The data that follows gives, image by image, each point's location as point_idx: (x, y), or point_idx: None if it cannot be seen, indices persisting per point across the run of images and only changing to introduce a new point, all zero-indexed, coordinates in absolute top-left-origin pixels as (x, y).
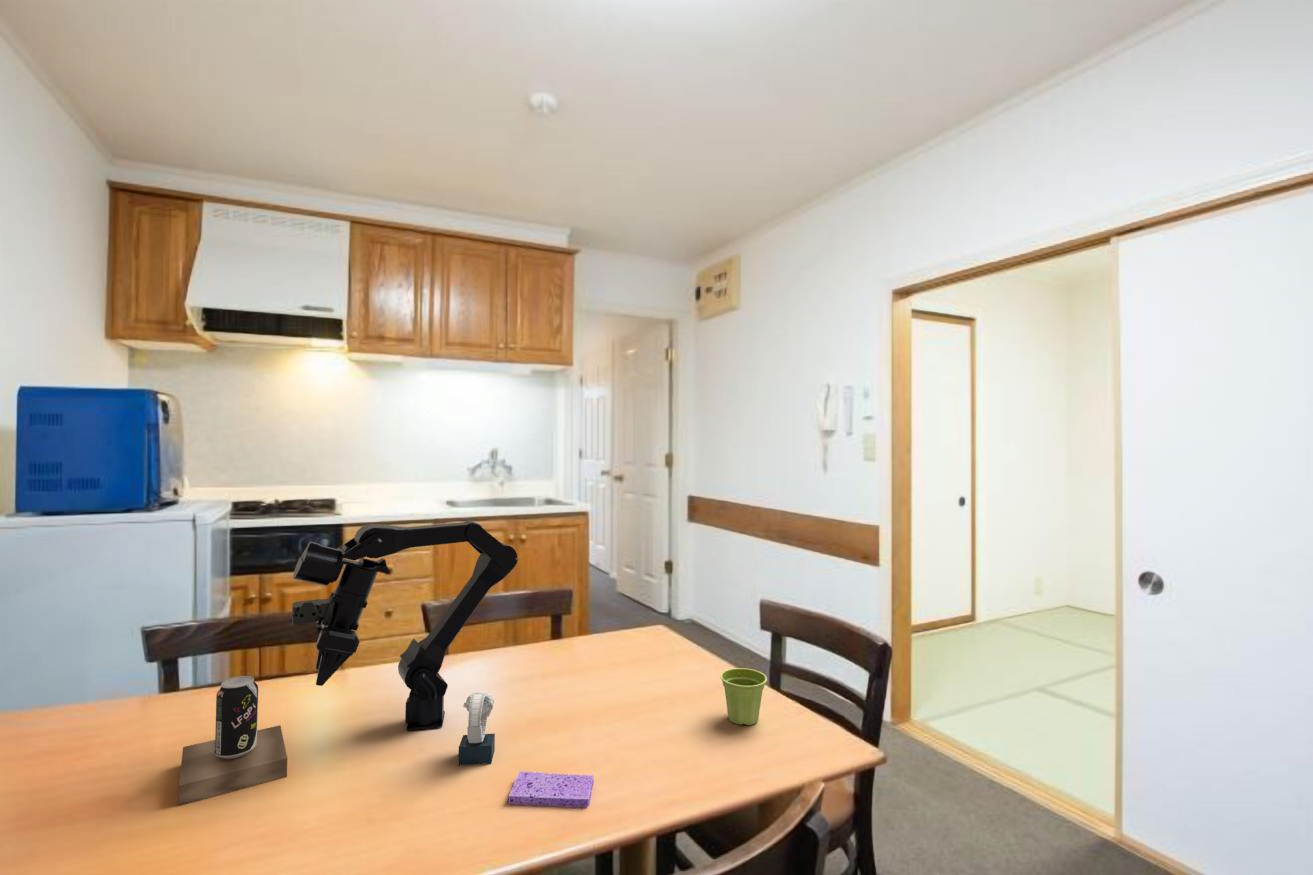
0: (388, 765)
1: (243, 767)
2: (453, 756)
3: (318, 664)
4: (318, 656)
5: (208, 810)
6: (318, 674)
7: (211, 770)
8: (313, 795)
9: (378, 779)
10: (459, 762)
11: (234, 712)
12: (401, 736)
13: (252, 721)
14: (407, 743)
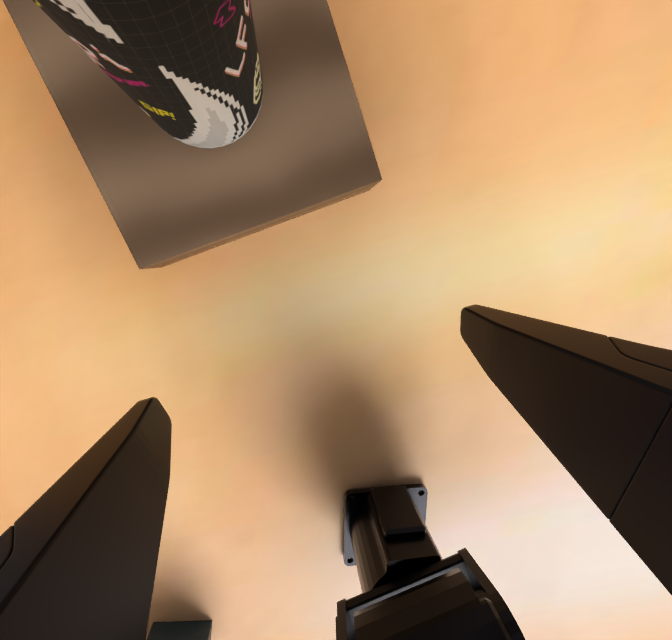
0: (178, 486)
1: (96, 150)
2: (197, 606)
3: (477, 325)
4: (516, 335)
5: (4, 113)
6: (78, 461)
7: None
8: (55, 358)
9: None
10: (150, 631)
11: None
12: (322, 482)
13: (138, 97)
14: (282, 503)
